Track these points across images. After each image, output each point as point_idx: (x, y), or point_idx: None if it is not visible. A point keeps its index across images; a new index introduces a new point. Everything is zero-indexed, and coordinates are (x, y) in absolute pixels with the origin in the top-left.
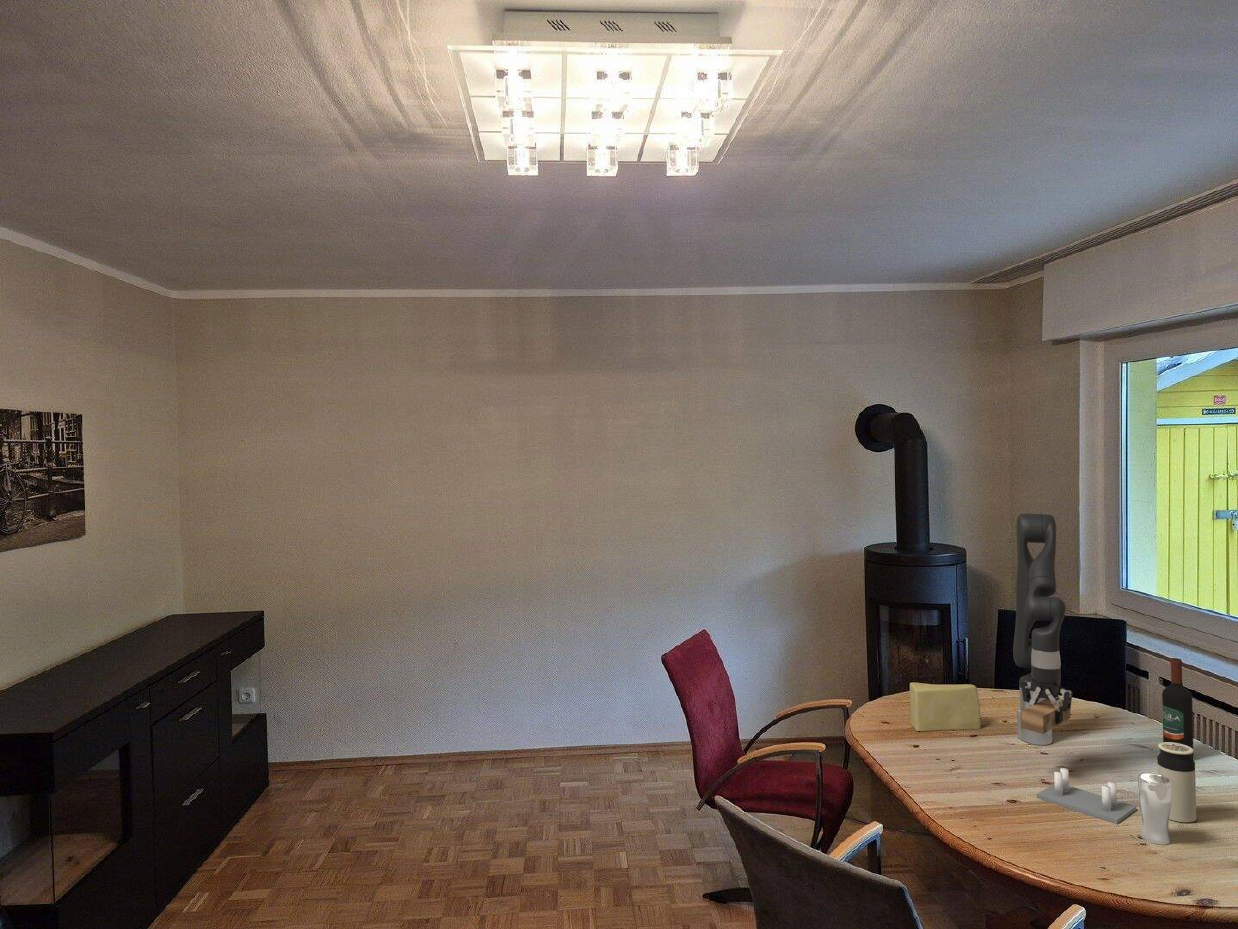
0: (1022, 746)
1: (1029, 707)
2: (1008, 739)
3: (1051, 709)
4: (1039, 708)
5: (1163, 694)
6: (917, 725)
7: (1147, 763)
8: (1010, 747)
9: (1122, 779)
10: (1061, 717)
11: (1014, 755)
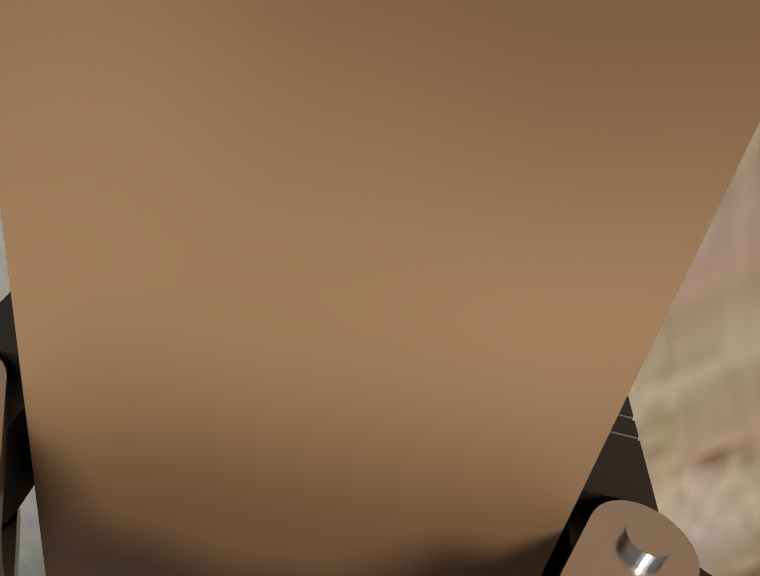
0: (648, 450)
1: (673, 253)
2: (742, 511)
3: (94, 376)
4: (376, 310)
5: None
6: None
7: (30, 505)
8: (726, 404)
9: (4, 243)
10: (7, 314)
11: (692, 286)
